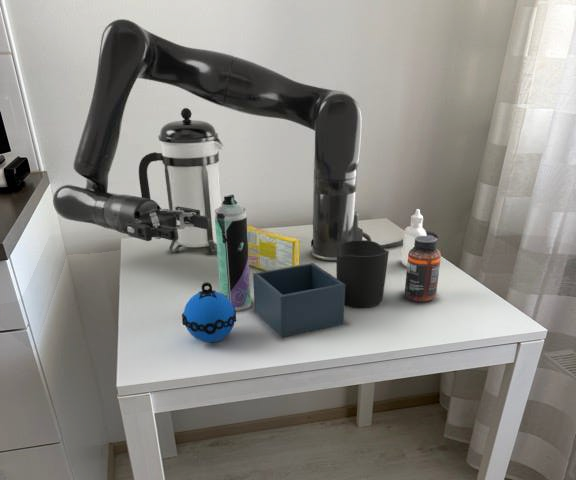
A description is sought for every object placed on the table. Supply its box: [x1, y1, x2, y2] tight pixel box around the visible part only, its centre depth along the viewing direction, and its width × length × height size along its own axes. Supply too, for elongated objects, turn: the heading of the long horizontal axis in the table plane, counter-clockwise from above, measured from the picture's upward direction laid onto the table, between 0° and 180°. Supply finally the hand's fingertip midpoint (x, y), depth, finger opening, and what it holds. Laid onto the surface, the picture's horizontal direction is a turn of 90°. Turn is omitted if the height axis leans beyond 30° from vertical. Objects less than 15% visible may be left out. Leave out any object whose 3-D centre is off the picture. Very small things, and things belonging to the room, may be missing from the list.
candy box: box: [247, 224, 301, 271], centre depth 118 cm, size 16×2×8 cm, turn 45°
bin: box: [252, 262, 345, 339], centre depth 98 cm, size 12×12×7 cm
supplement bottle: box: [404, 235, 442, 303], centre depth 104 cm, size 6×6×11 cm
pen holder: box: [335, 239, 390, 309], centre depth 104 cm, size 9×9×10 cm
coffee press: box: [138, 107, 225, 255], centre depth 127 cm, size 17×16×30 cm
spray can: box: [214, 194, 252, 312], centre depth 100 cm, size 6×6×20 cm
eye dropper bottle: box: [400, 208, 428, 268], centre depth 119 cm, size 4×6×12 cm
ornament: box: [181, 281, 237, 344], centre depth 90 cm, size 9×9×10 cm
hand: (193, 229), depth 103 cm, fingers open, 8 cm apart
